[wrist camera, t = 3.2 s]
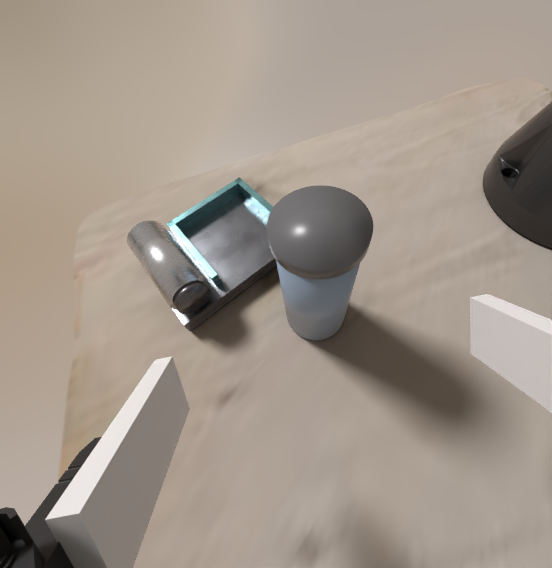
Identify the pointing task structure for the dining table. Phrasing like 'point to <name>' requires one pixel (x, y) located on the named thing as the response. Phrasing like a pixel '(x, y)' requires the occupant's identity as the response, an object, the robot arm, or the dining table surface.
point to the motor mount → (207, 251)
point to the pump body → (318, 255)
